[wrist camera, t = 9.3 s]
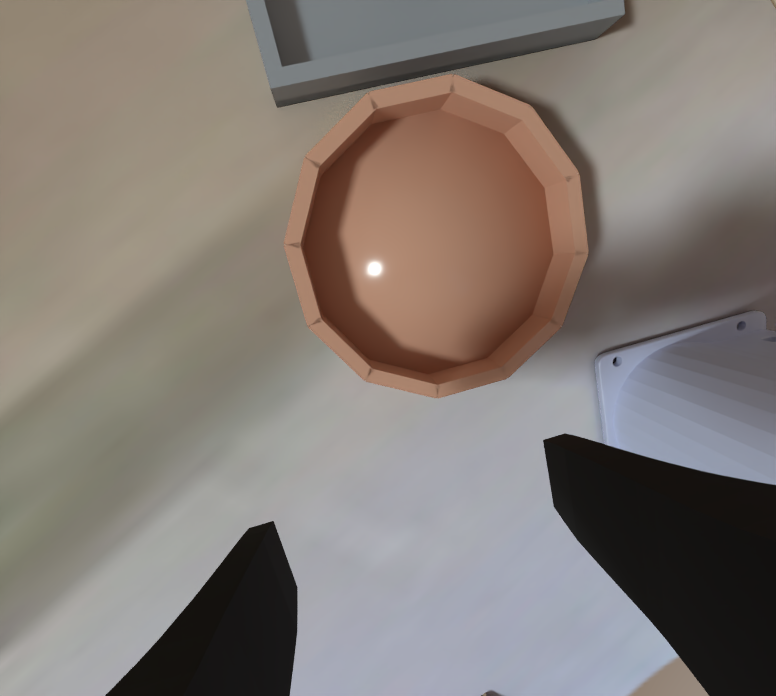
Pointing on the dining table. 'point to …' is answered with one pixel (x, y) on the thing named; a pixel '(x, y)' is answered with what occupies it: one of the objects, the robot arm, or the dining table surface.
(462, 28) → the slate-grey tray
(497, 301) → the terracotta dish
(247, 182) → the dining table surface
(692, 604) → the robot arm
